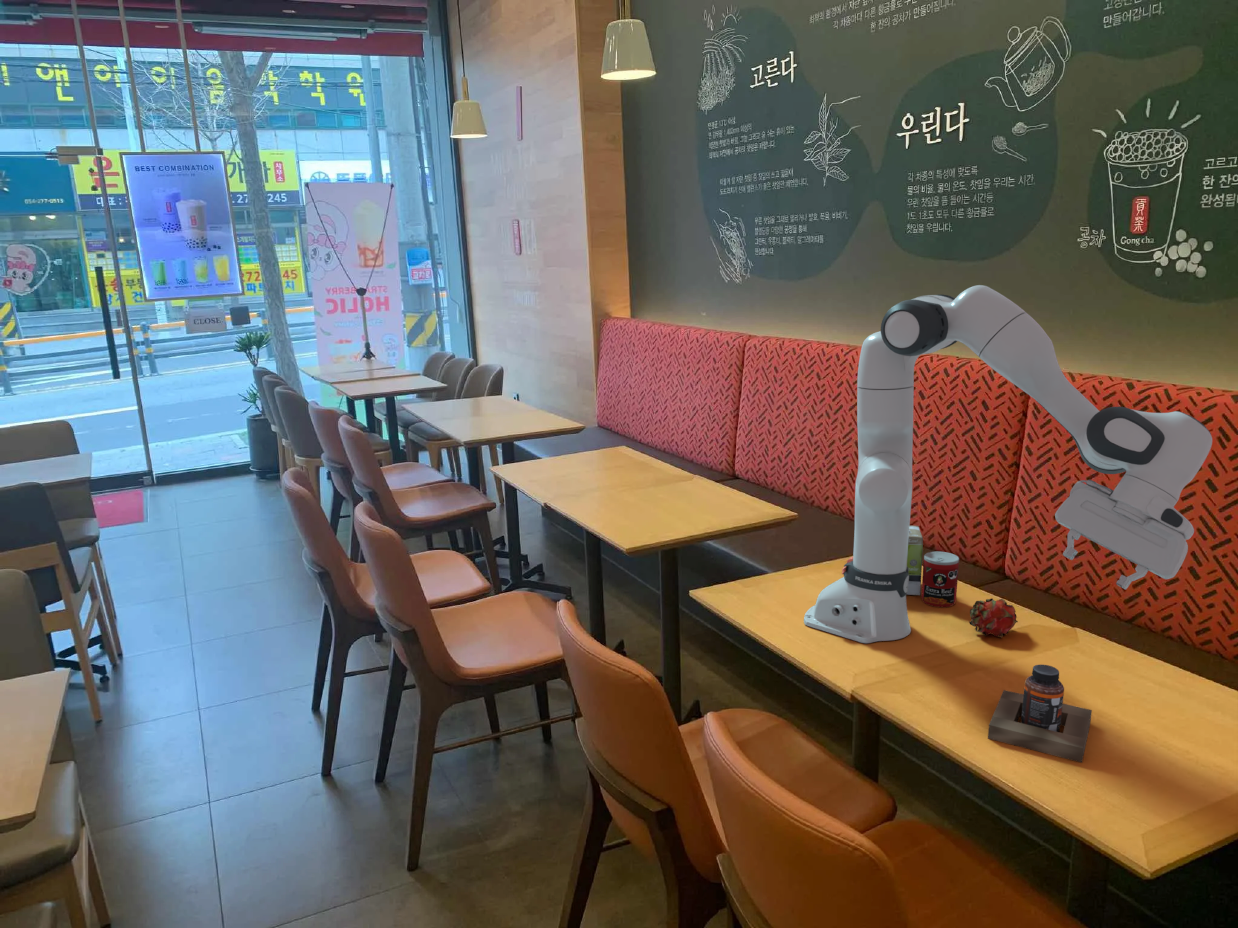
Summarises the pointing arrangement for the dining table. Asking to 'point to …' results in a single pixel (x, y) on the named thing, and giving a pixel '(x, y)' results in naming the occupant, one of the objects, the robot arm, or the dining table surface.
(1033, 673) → the supplement bottle
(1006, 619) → the dragon fruit
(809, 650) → the dining table surface
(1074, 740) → the walnut socket block
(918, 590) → the tea box
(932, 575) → the canned food
